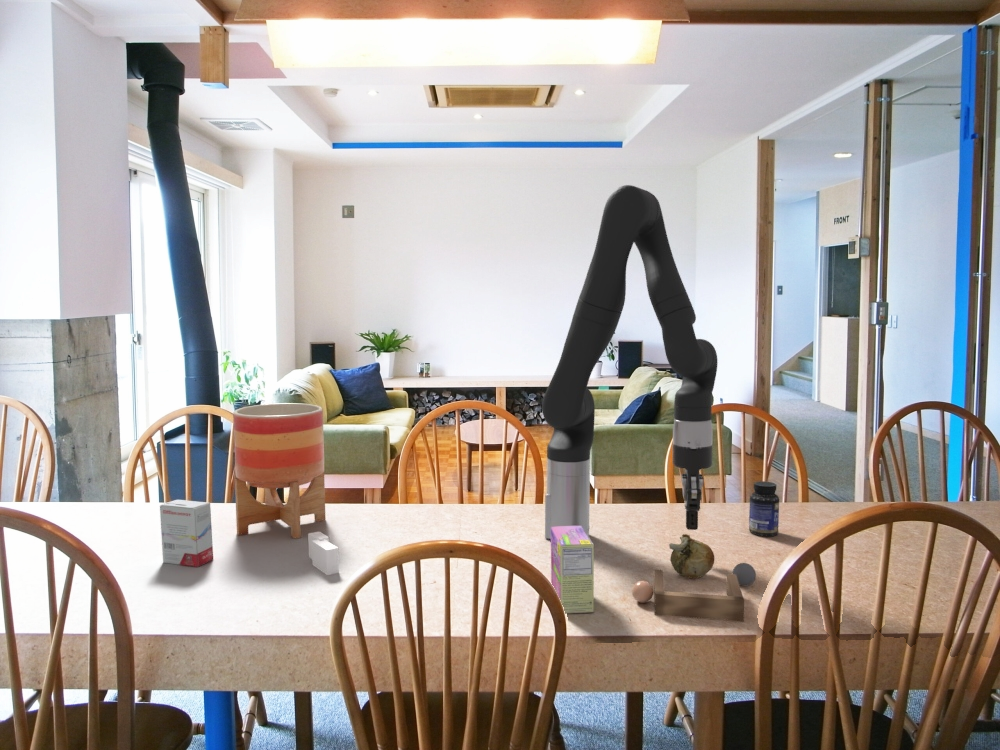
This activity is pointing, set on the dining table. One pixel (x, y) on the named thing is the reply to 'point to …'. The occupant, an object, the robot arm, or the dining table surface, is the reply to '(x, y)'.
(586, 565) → the box
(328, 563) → the white stepped block
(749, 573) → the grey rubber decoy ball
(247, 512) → the planter
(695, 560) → the onion
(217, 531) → the dining table surface
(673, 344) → the robot arm
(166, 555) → the ink box
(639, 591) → the glossy pink ball
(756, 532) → the pill bottle
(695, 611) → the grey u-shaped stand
